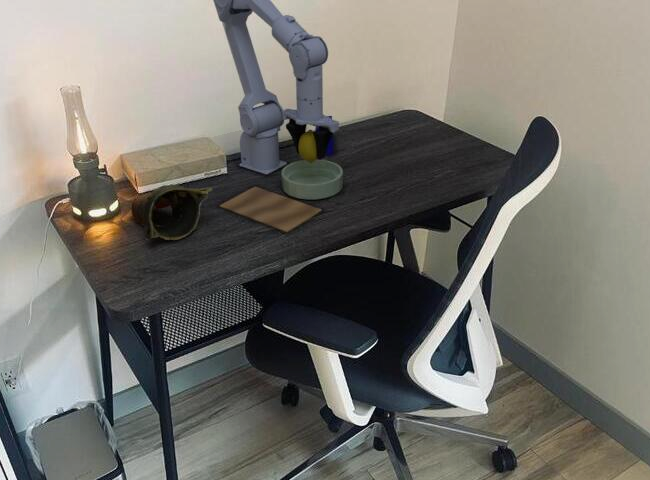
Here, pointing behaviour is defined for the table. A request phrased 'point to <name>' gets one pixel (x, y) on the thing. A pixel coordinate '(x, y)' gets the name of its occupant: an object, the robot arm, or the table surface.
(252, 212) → the cork mat
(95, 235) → the table surface
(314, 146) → the lemon
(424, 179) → the table surface
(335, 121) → the robot arm
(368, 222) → the table surface
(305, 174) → the bowl
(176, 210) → the pot
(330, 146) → the cable clip
